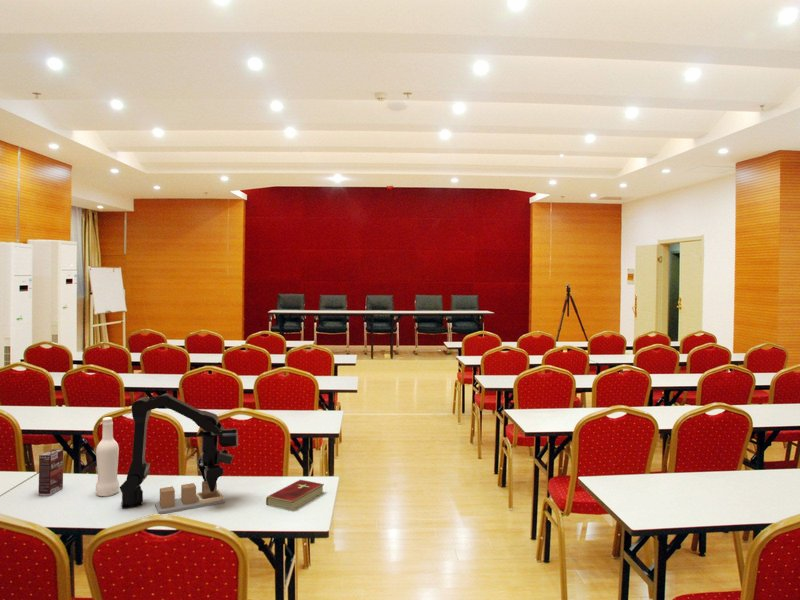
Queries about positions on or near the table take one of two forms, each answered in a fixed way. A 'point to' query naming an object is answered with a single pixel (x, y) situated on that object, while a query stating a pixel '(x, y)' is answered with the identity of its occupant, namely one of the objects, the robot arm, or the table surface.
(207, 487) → the walnut block
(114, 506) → the table surface
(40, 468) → the supplement box
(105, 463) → the bottle
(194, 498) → the holder
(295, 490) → the hardcover book
